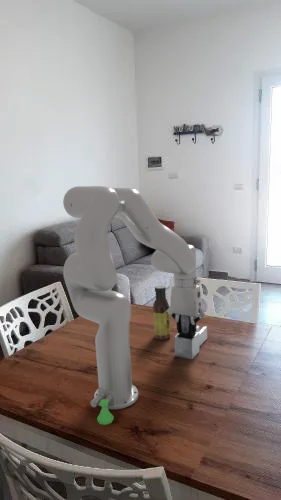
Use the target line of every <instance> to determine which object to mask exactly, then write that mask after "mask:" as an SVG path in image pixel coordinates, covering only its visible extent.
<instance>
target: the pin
mask: <svg viewBox="0 0 281 500" xmlns="http://www.w3.org/2000/svg"><path fill="white" fill-rule="evenodd" d="M180 321H181V337H183V338H189V339H191V338H192V337H193V336H191V335H190V324H191V320H190V316H187V315H180Z"/></svg>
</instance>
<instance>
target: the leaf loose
mask: <svg viewBox="0 0 281 500" xmlns="http://www.w3.org/2000/svg"><path fill="white" fill-rule="evenodd" d="M198 333H199V348H200V347H201V346H202V345H203V343H204V342H205V341H206V340H207V339H208V326H206V325H205V326H203V327H202V328H200V331H199V332H198Z"/></svg>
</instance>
